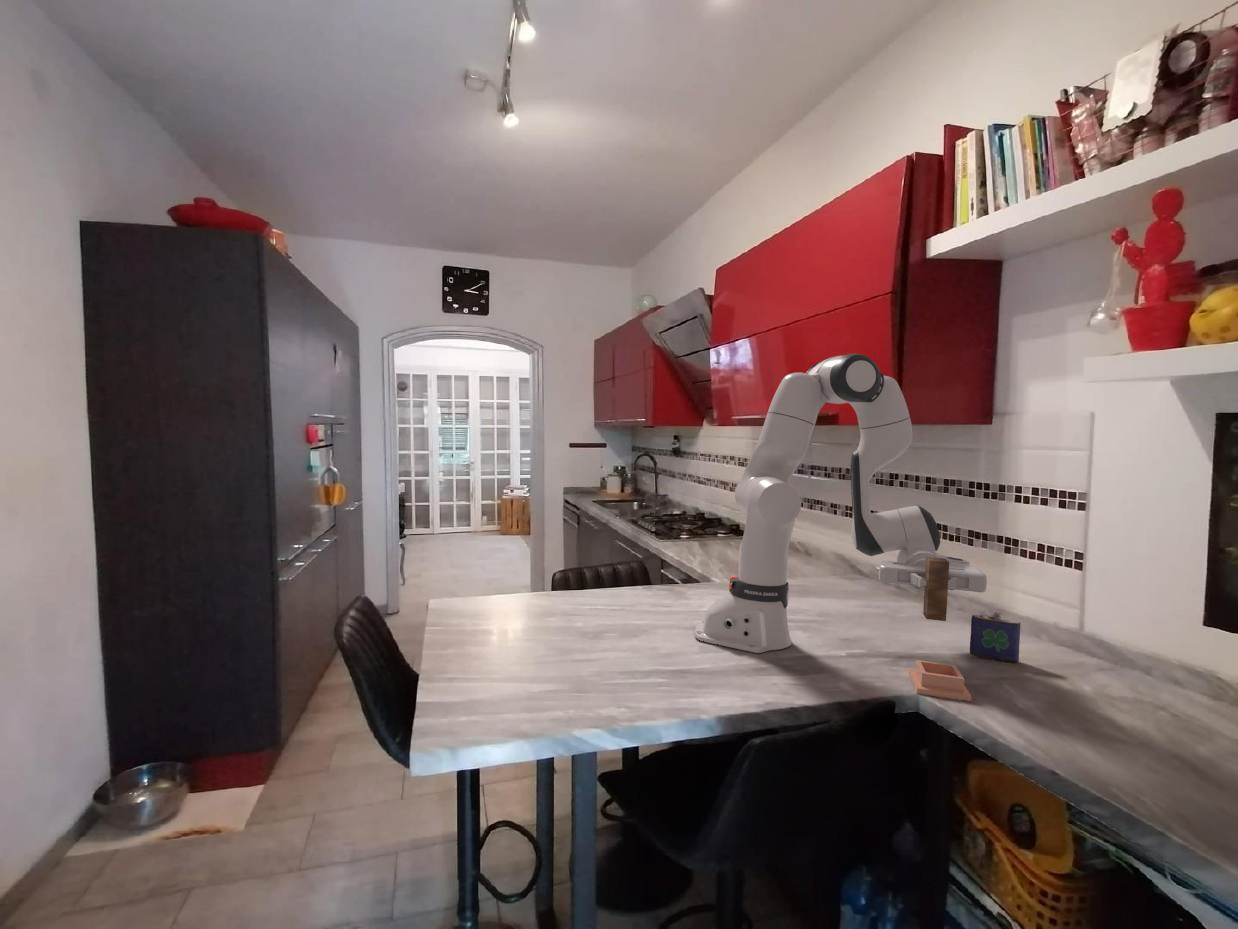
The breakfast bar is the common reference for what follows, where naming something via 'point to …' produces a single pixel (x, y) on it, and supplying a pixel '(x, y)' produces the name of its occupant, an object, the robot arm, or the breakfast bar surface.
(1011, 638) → the flask
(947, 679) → the terracotta holder
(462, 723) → the breakfast bar surface
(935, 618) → the walnut stick
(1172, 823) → the breakfast bar surface
